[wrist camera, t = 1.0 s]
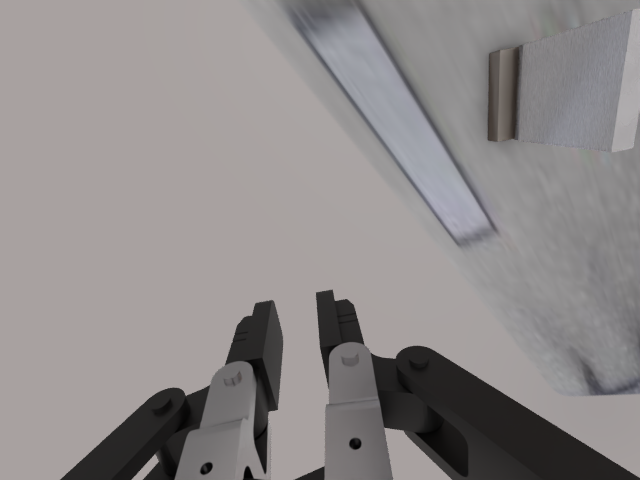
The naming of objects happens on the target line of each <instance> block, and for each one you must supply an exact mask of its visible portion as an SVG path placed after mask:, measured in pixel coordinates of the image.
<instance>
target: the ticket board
mask: <svg viewBox="0 0 640 480" xmlns="http://www.w3.org/2000/svg"><path fill="white" fill-rule="evenodd" d="M518 56H519V47H515V48H510V49H504V50H499V51H496V52H493V53H490V61H489V118H488V140H490V141H497V142H498V141H504V140H509V139H515V122H516V100H517V78H518Z"/></svg>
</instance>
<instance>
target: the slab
mask: <svg viewBox="0 0 640 480" xmlns="http://www.w3.org/2000/svg"><path fill="white" fill-rule="evenodd" d="M639 110H640V8H639V9H634V10H630V11H627V12H624V13H621V14H618V15H615V16H611V17H608V18H605V19H602V20H599V21H596V22H593V23H589V24H586V25H583V26H580V27H577V28H574V29H570V30H567V31H564V32H561V33H558V34H555V35H552V36H548V37H545V38H542V39H539V40H536V41H533V42H530V43H526V44H523V45H521V46H519V56H518V78H517V100H516V122H515V140H518V141H523V142H532V143H540V144H548V145H556V146H564V147H573V148H581V149H589V150H597V151H605V152H615V151H621V150H627V149H632V148H633V145H634V139H635V133H636V128H637V122H638V116H639Z"/></svg>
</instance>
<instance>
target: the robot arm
mask: <svg viewBox="0 0 640 480" xmlns="http://www.w3.org/2000/svg"><path fill="white" fill-rule="evenodd" d="M316 300H317V312H318V325H319V339H320V349H321V354H322V359H323V364H324V368H325V374H326V378H327V383H328V388H329V404H327V405H326V410H325V466H324V467H322V468H320V469H317V470H315V471H313V472H311V473H308V474H307V475H304V476H302V477H300V478H297V479H295V480H393V477H392V471H391V465H390V459H389V453H388V448H387V442H386V436H385V430H384V428H390V429H397V430H404V432H405V434H406V435H407V436H408V437H409V438H410V439H411V440H412V441H413V442H414V443H415V444H416V445H417V446H418V447H419V448H420V449H421V450H422V451H423V452H424V453H425V454H426V455H427V456H428V457H429V458H430V459H431V460H432V461H433V462H434V463H436V464H437V465H438V466H439V467H440V468H441V469H442V470H443V471H444V472H445V473H446V474H447V475H448V476H449V477H450V478H451V479H452V480H640V478H639V477H637V476H635V475H634V474H632V473H631V472H629V471H627V470H626V469H624V468H623V467H621V466H619V465H618V464H616V463H615V462H613V461H611V460H610V459H608V458H606V457H605V456H603V455H602V454H600V453H599V452H597V451H595V450H594V449H592V448H590V447H589V446H587V445H586V444H584V443H582V442H581V441H579V440H578V439H576V438H574V437H573V436H571V435H569V434H568V433H566V432H564V431H563V430H561V429H560V428H558V427H557V426H555V425H553V424H552V423H550V422H548V421H547V420H545V419H544V418H542V417H540V416H539V415H537V414H536V413H534V412H532V411H531V410H529V409H528V408H526V407H524V406H523V405H521V404H519V403H518V402H516V401H515V400H513V399H511V398H510V397H508V396H506V395H505V394H503V393H502V392H500V391H498V390H497V389H495V388H494V387H492V386H490V385H489V384H487V383H485V382H484V381H482V380H481V379H479V378H477V377H476V376H474V375H473V374H471V373H469V372H468V371H466V370H465V369H463V368H461V367H460V366H458V365H457V364H455V363H453V362H452V361H450V360H448V359H447V358H445V357H444V356H442V355H440V354H439V353H437V352H435V351H434V350H432V349H430V348H427V347H423V346H411V347H407V348H405V349H403V350H401V351H400V352H399V353H398V354H397V356H396V359H391V358H382V357H378V356H375V355H373V354H372V353H370V351H369V349H368V348H367V347H366V346H365V345H364V341H363V337H362V334H361V330H360V326H359V323H358V319H357V315H356V311H355V308H354V305H353V304H352V303H351V302H350V301H349V300H347V299H345V300H339V301H335V300H334V295H333V290H328V291H322V292H317V293H316ZM282 353H283V336H282V330H281V326H280V322H279V318H278V315H277V311H276V307H275V303H274V301H273V300H270V301H265V302H259V303H256V304H255V306H254V310H253V314H252V316H247V317H244V318H243V319H242V320H241V322H240V323H239V324H238V325H237V328H236V332H235V335H234V338H233V343H232V344H231V348H230V351H229V354H228V357H227V360H226V364H225V366H224V367H222V368H221V369H219V370H218V371H217V372H216V373H215V375H214V376H213V378H212V380H211V384H210V385H209V386H207V387H206V388H204V389H202V390H199V391H197V392H194V393H192V394H190V395H187V396H186V395H185V393H184V391H183V390H181V389H179V388H169V389H165V390H162V391H160V392H158V393H156V394H155V395H153V396H152V397H151V398H149V399H148V400H147V401H146V402H145V403H144V404H143V405H141V406H140V407H139V408H138V409H137V410H136V411H135V412H134V413H133V414H132V415H131V416H130V417H128V418H127V419H126V420H125V421H124V422H123V423H122V424H121V425H120V426H119V427H118V428H116V429H115V430H114V431H113V432H112V433H111V434H110V435H109V436H108V437H106V438H105V439H104V440H103V441H102V442H101V443H100V444H99V445H98V446H97V447H96V448H94V449H93V450H92V451H91V452H90V453H89V454H88V455H87V456H86V457H85V458H83V459H82V460H81V461H80V462H79V463H78V464H77V465H76V466H75V467H74V468H73V469H71V470H70V471H69V472H68V473H67V474H66V475H65V476H64V477H63V478H62V479H61V480H131V479H132V478H133V477H134V476H135V475H136V474H137V473H138V472H139V471H140V470H141V468H143V466H144V465H145V464H146V463H147V462H148V461H149V460H150V459H151V458H152V457H153V456H154V454H156V456H157V458H158V460H159V462H158V464H157V465H156V466H155V467H154V468H153V469H152V470H151V471H150V472H149V474H148V475H147V476H146V477H145V478H144V479H143V480H270V478H271V471H270V470H271V426H270V423H269V420H268V412H269V411H275V410H278V400H279V389H280V376H281V365H282Z"/></svg>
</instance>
